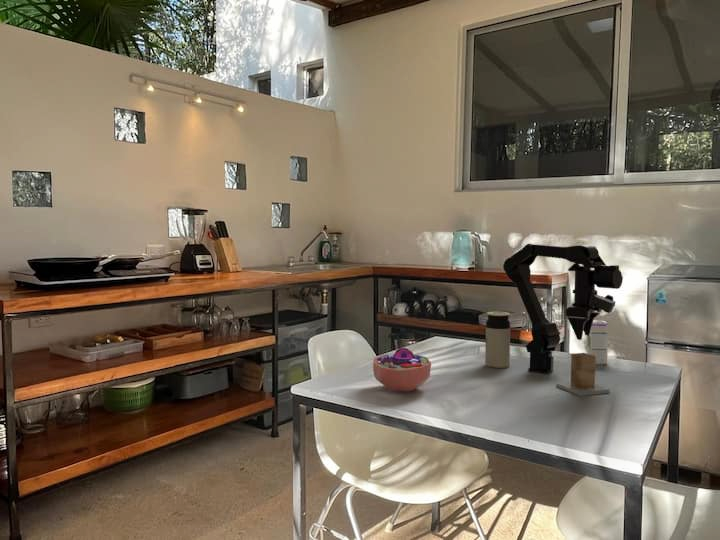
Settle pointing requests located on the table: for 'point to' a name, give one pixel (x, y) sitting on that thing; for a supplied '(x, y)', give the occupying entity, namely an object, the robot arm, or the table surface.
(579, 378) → the walnut block
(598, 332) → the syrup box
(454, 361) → the table surface
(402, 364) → the cell model
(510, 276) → the robot arm
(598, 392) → the coaster
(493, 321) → the travel mug
